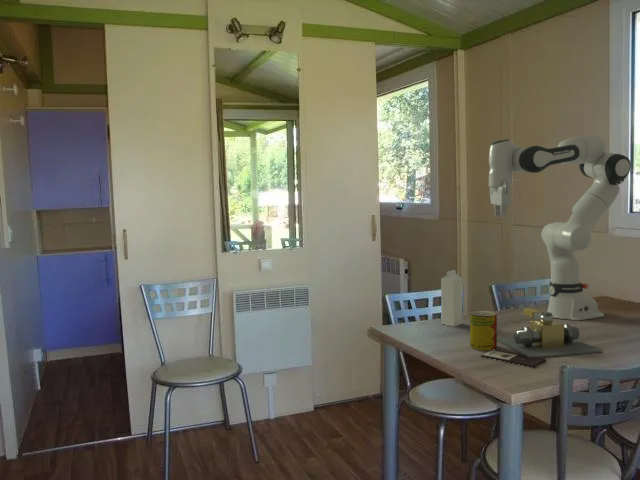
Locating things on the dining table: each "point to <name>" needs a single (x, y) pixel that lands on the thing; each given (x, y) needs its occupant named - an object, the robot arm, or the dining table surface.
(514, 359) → the chocolate bar
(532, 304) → the dining table surface
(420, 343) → the dining table surface
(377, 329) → the dining table surface
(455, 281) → the milk
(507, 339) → the mat
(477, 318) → the yellow tin can
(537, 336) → the valve body
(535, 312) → the lever
